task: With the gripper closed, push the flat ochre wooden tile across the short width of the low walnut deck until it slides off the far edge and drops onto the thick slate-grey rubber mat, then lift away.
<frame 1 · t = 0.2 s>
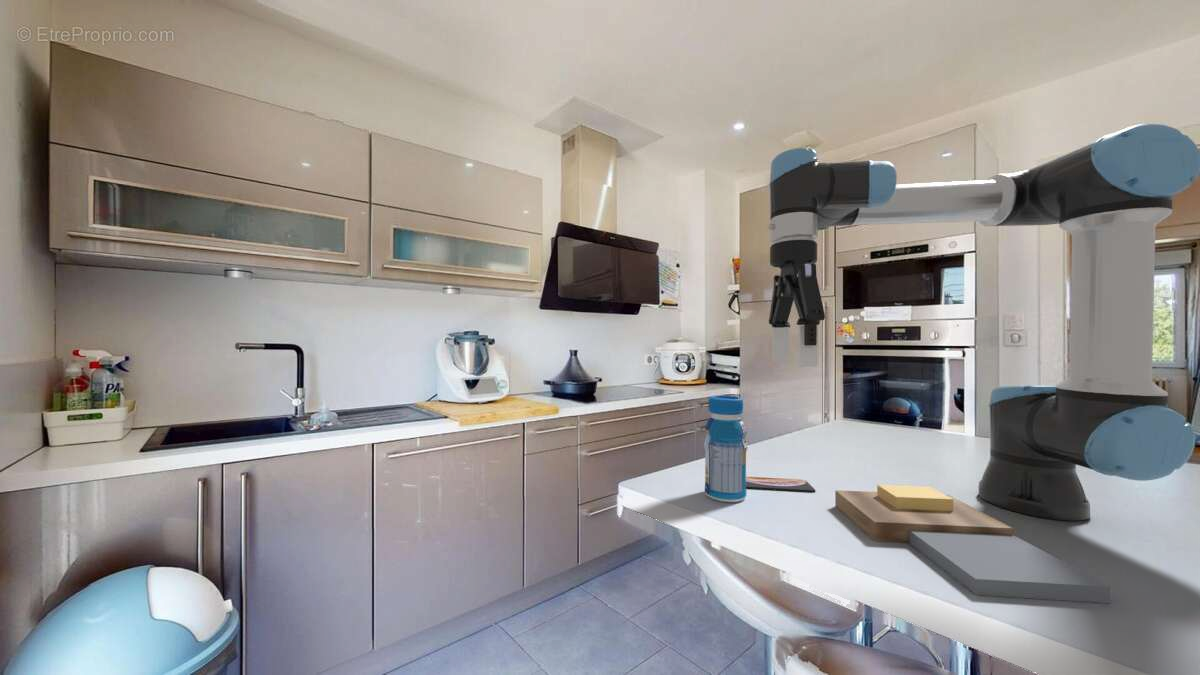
hand: (793, 364, 75), 28 cm above the table, fingers open, 13 cm apart
smartphone: (774, 487, 93), on the table
mat: (997, 569, 59), on the table
beverage bottle: (725, 496, 87), on the table
tile: (913, 503, 75), point 3 cm above the table, touching deck
deck: (914, 524, 73), on the table
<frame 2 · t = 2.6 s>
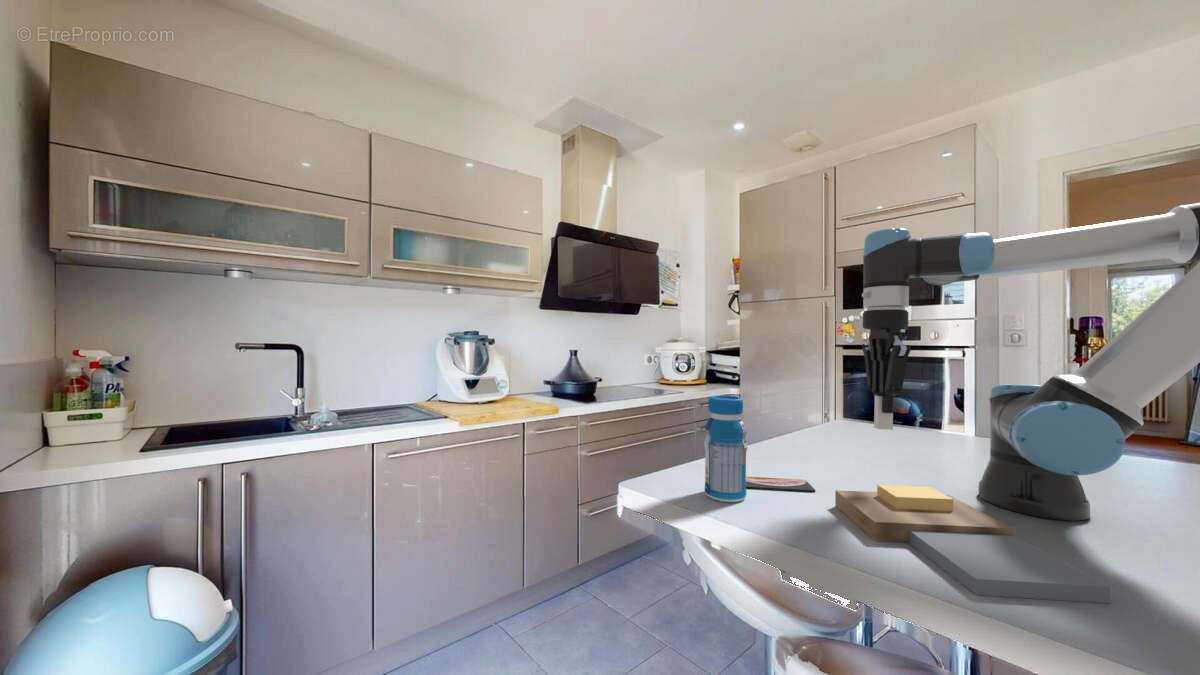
hand: (883, 428, 84), 14 cm above the table, fingers closed
nothing on the table moved.
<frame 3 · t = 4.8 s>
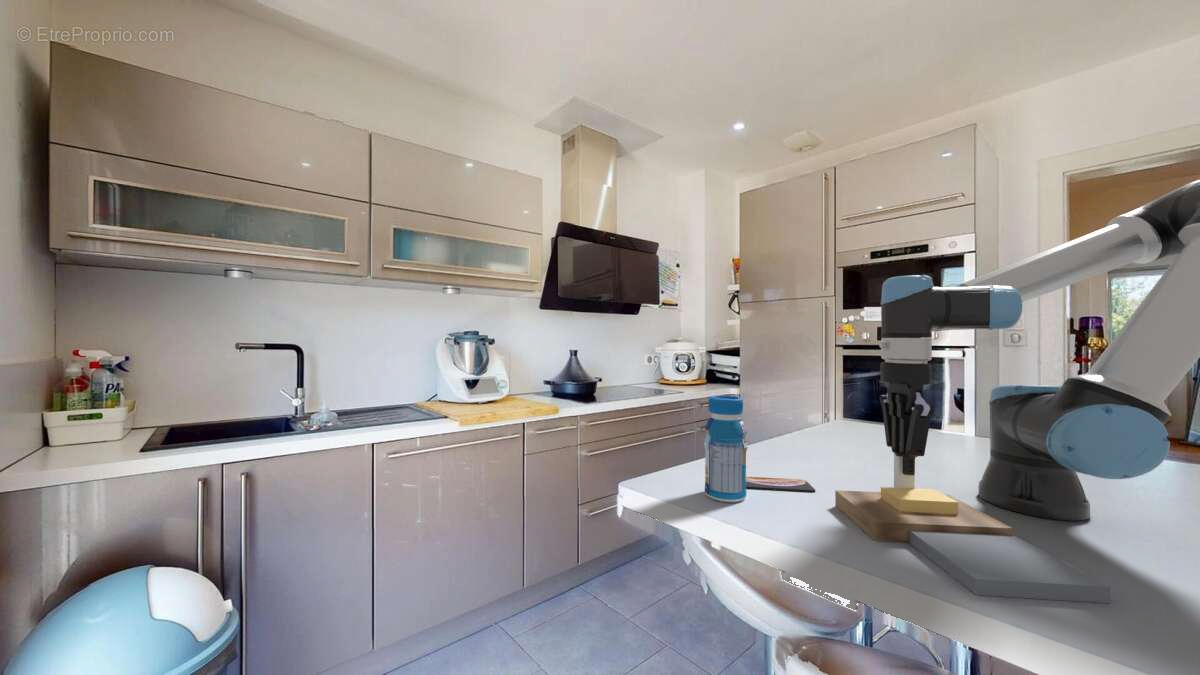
hand: (904, 490, 78), 4 cm above the table, fingers closed
tile: (917, 505, 74), point 3 cm above the table, touching deck, gripper
everything else where it was.
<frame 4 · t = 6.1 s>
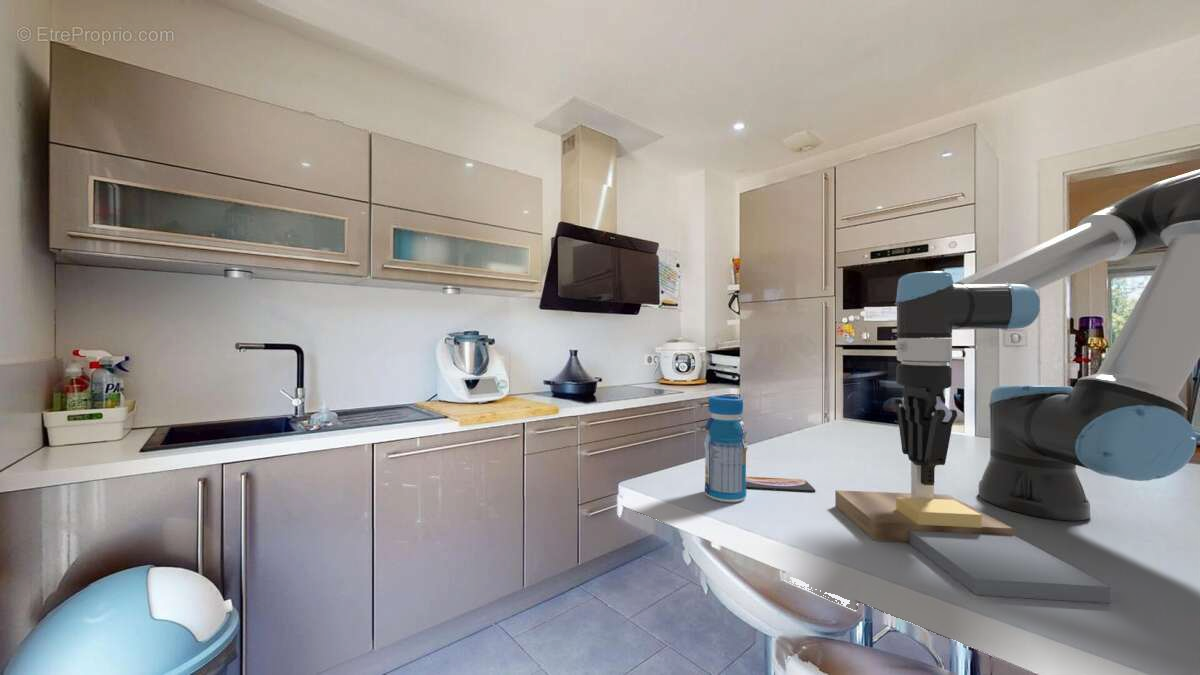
hand: (922, 501, 73), 4 cm above the table, fingers closed
tile: (936, 517, 69), point 3 cm above the table, touching deck
everything else where it was.
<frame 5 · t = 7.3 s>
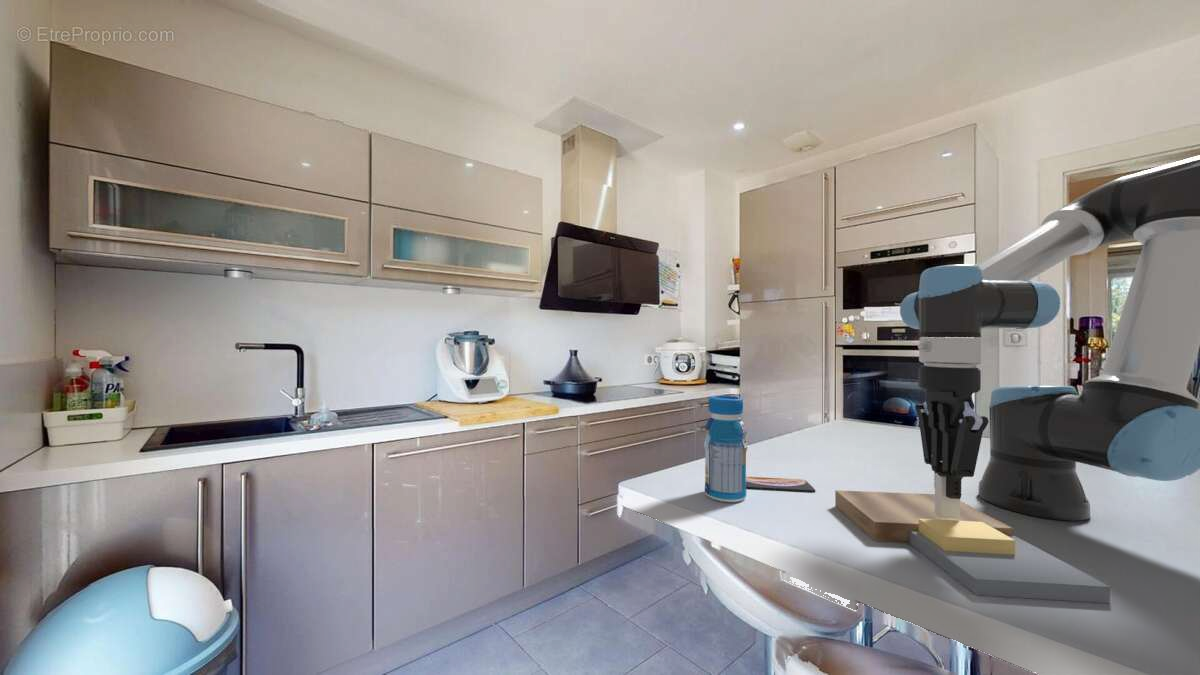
hand: (947, 516, 67), 4 cm above the table, fingers closed
tile: (964, 542, 63), point 2 cm above the table, touching mat
everything else where it was.
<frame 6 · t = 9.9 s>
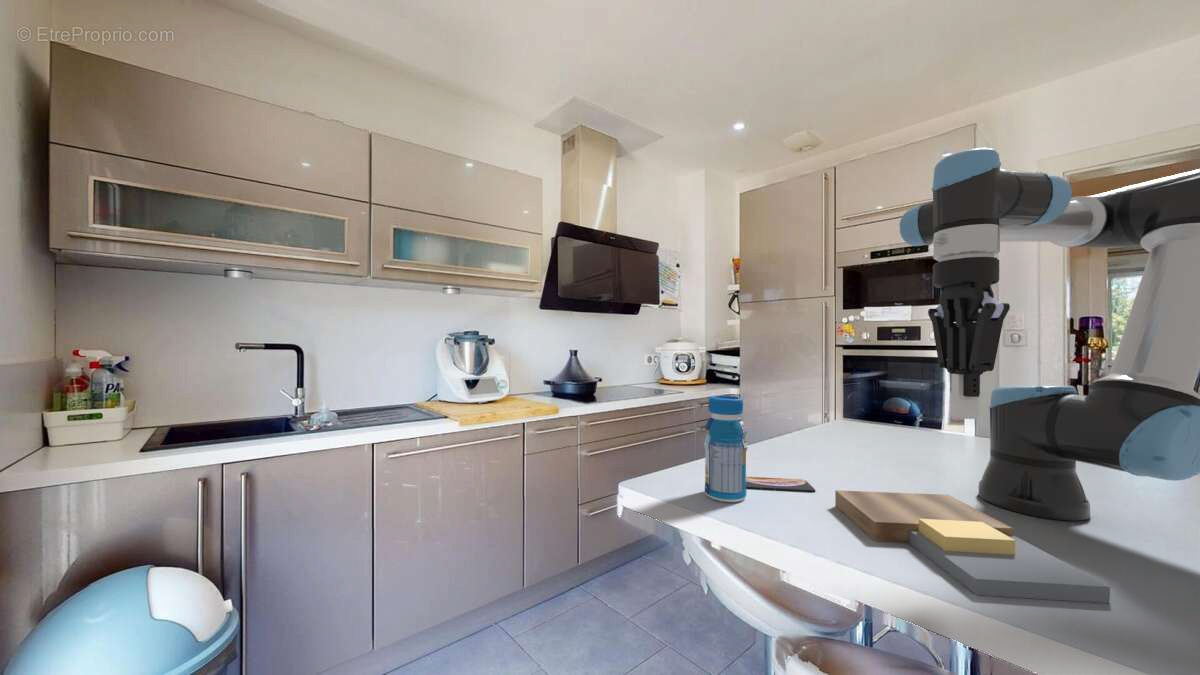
hand: (964, 417, 63), 20 cm above the table, fingers closed
nothing on the table moved.
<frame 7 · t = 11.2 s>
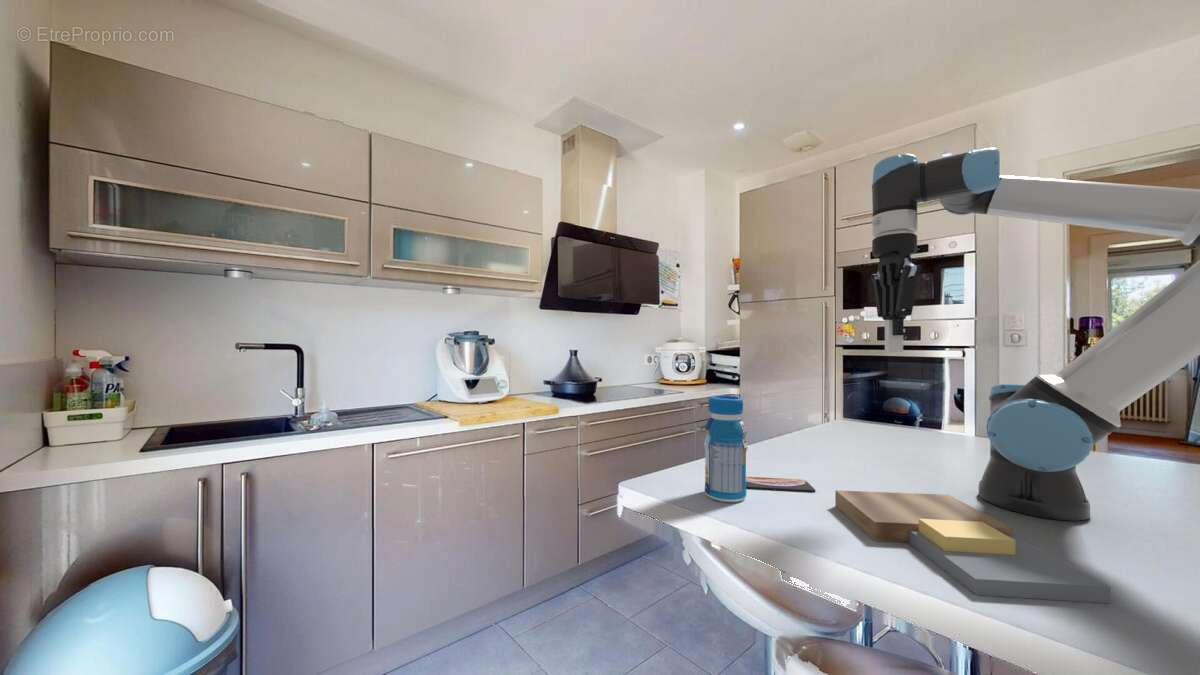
hand: (893, 351, 86), 29 cm above the table, fingers closed
nothing on the table moved.
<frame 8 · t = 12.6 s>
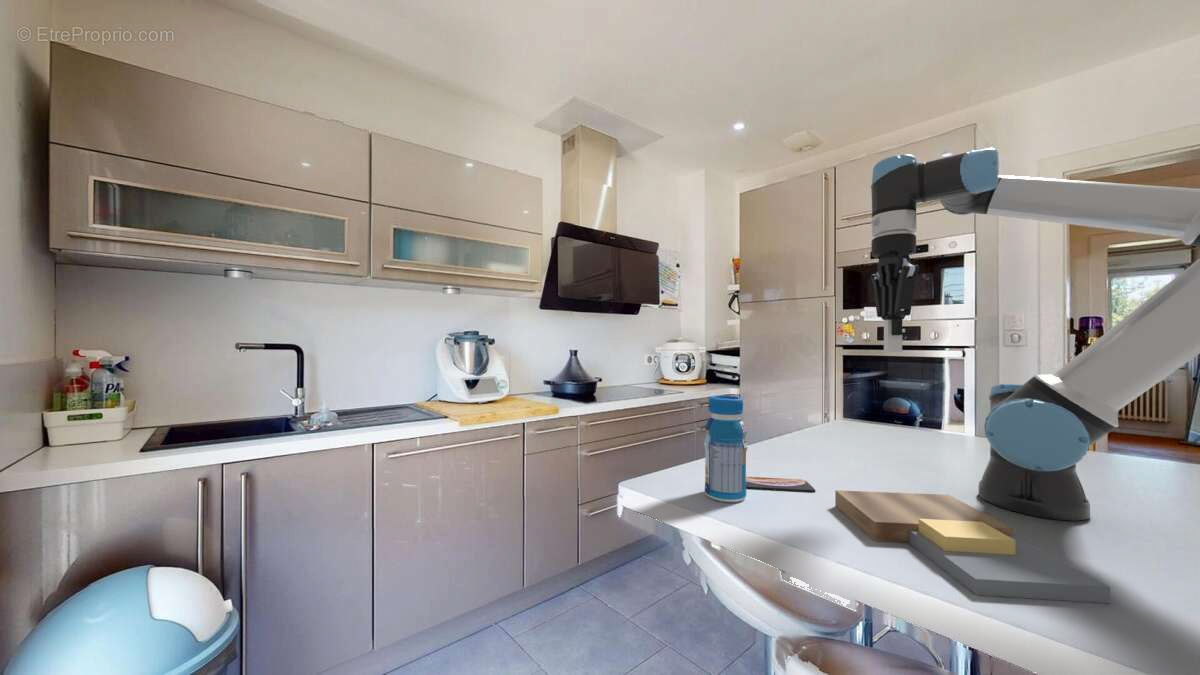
hand: (892, 351, 87), 29 cm above the table, fingers closed
nothing on the table moved.
at the end: tile inside the target area (3.9 cm from its centre), point 2.0 cm above the table; tile touching mat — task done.
